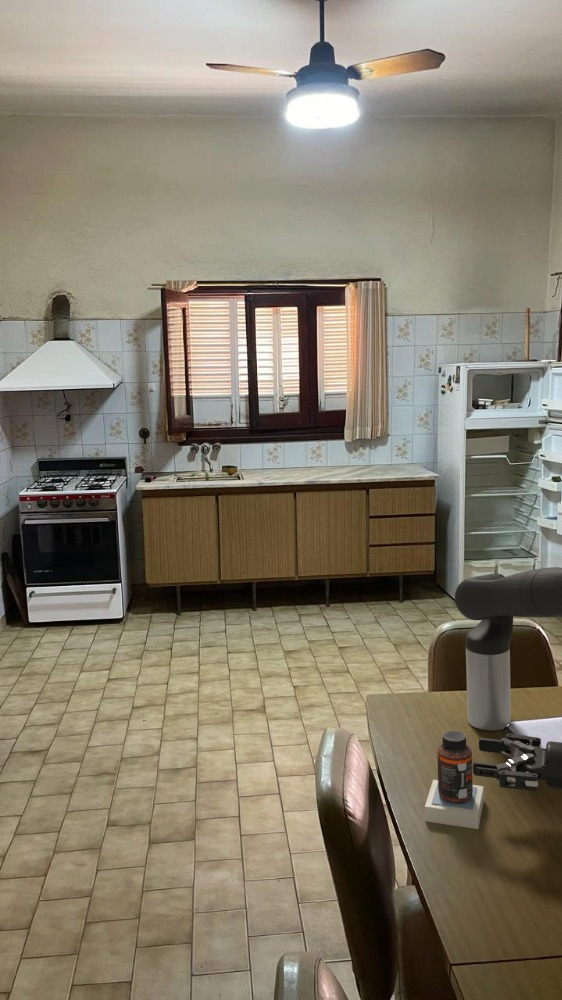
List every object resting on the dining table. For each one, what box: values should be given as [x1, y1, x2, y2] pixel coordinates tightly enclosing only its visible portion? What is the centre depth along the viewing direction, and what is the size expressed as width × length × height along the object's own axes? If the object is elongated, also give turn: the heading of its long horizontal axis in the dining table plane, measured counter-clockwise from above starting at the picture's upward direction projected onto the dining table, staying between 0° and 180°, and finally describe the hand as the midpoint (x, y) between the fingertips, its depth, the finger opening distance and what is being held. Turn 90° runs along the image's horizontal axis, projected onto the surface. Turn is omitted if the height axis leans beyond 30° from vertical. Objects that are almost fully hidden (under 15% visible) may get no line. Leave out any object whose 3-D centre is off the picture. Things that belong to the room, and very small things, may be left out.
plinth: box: [424, 779, 485, 830], centre depth 133 cm, size 9×9×3 cm
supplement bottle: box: [436, 730, 474, 803], centre depth 132 cm, size 6×6×11 cm
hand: (476, 755), depth 130 cm, fingers open, 8 cm apart
